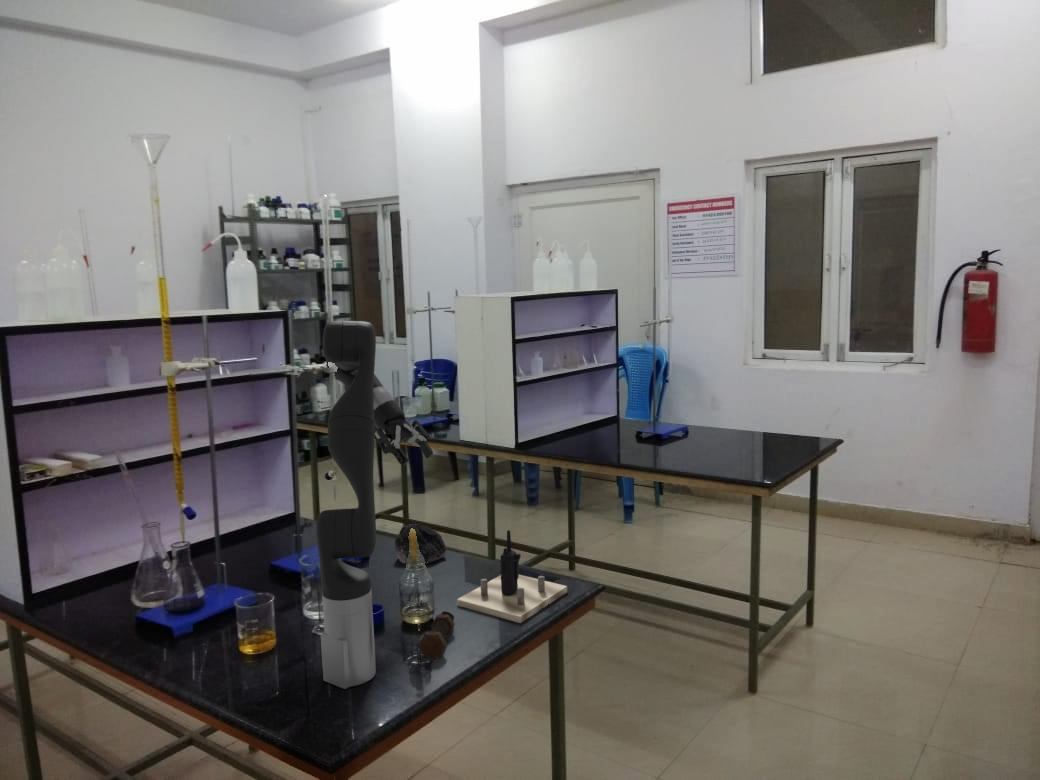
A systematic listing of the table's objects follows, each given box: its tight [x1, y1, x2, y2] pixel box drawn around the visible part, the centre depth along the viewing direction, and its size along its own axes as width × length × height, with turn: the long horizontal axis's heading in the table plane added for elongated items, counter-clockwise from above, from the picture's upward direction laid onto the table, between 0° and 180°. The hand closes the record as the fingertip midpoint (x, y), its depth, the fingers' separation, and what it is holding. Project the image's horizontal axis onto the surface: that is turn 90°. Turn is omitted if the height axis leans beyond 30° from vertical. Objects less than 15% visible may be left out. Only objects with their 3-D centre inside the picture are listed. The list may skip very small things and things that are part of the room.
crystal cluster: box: [394, 523, 447, 565], centre depth 212 cm, size 13×14×10 cm
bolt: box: [417, 611, 455, 659], centre depth 163 cm, size 6×5×15 cm
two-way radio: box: [500, 529, 521, 595], centre depth 183 cm, size 6×4×15 cm
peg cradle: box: [456, 574, 568, 624], centre depth 184 cm, size 20×18×5 cm
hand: (418, 459), depth 185 cm, fingers open, 8 cm apart
